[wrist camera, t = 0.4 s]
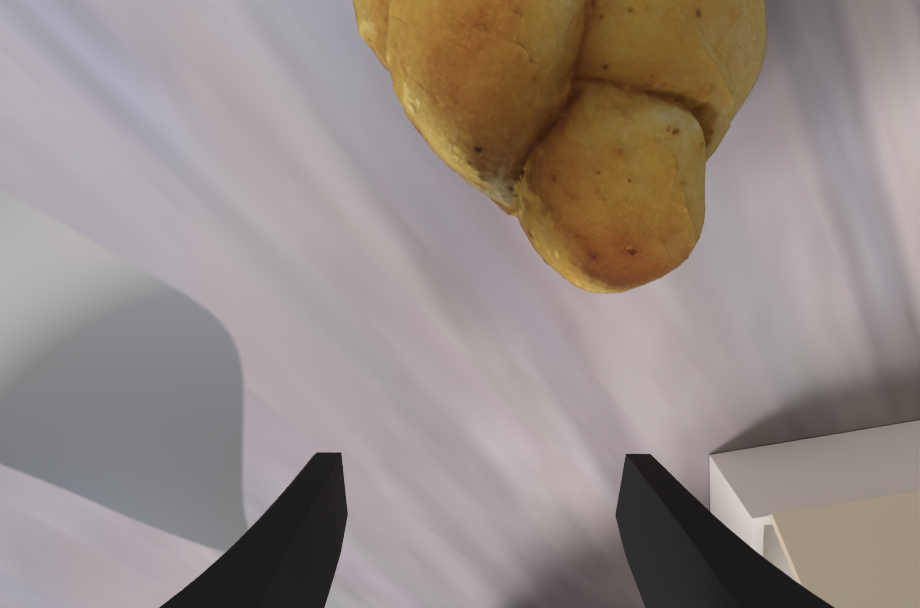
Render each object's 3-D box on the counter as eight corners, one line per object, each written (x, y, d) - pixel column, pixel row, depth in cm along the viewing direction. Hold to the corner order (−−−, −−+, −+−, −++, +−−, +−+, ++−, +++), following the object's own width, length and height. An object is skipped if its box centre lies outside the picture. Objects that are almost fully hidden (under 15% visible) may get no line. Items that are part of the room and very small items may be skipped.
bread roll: (311, 43, 18) (209, 16, 11) (487, -247, 15) (516, -564, 8) (574, 259, 21) (636, 353, 14) (763, 57, 18) (969, 41, 11)
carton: (942, 593, 29) (1012, 666, 26) (712, 625, 30) (747, 700, 27) (988, 408, 24) (1082, 467, 20) (709, 454, 25) (751, 518, 22)
